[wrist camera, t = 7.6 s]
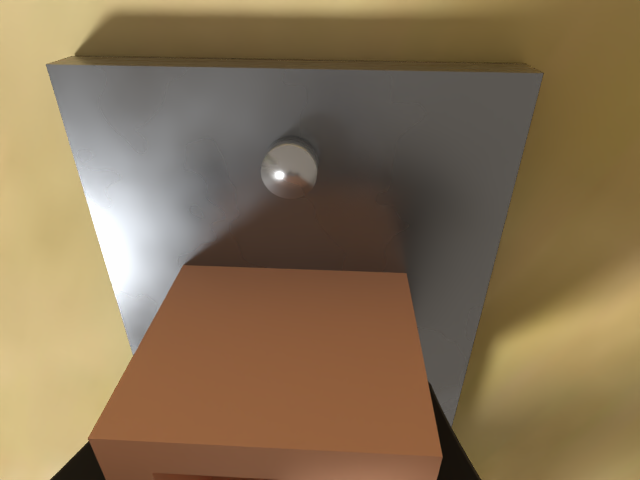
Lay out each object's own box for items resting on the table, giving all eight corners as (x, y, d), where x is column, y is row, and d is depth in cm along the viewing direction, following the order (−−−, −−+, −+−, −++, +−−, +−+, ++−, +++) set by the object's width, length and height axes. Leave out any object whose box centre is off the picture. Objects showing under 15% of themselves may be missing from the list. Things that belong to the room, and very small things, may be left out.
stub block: (426, 482, 18) (439, 568, 15) (182, 469, 18) (156, 550, 16) (526, 63, 10) (591, 99, 7) (71, 55, 10) (-24, 86, 7)
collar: (386, 417, 14) (403, 607, 10) (210, 409, 15) (154, 591, 10) (406, 273, 11) (442, 456, 7) (182, 264, 12) (87, 438, 7)
